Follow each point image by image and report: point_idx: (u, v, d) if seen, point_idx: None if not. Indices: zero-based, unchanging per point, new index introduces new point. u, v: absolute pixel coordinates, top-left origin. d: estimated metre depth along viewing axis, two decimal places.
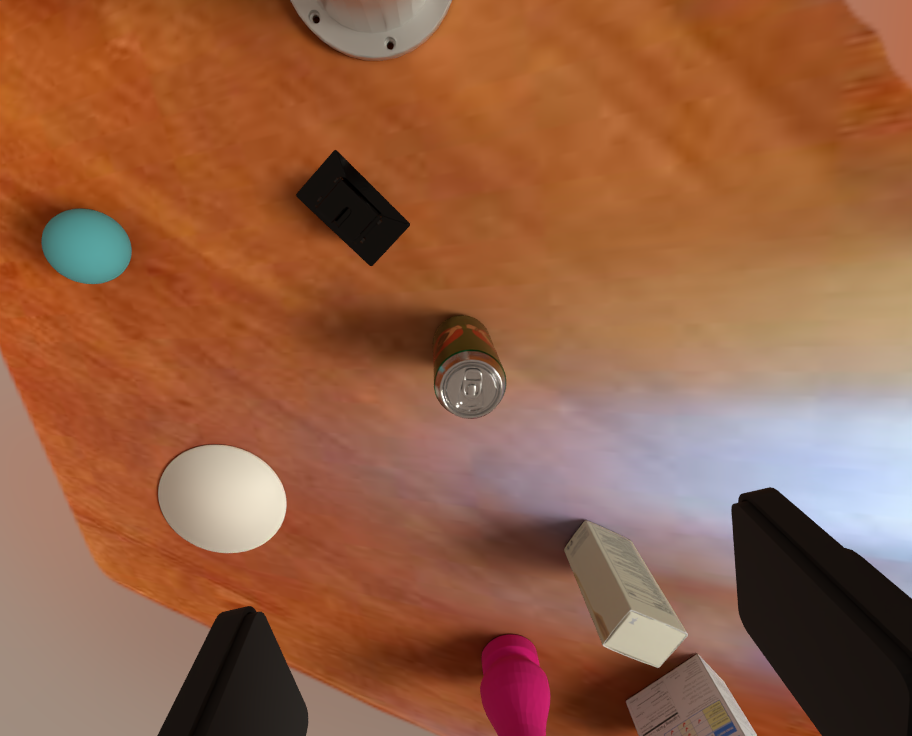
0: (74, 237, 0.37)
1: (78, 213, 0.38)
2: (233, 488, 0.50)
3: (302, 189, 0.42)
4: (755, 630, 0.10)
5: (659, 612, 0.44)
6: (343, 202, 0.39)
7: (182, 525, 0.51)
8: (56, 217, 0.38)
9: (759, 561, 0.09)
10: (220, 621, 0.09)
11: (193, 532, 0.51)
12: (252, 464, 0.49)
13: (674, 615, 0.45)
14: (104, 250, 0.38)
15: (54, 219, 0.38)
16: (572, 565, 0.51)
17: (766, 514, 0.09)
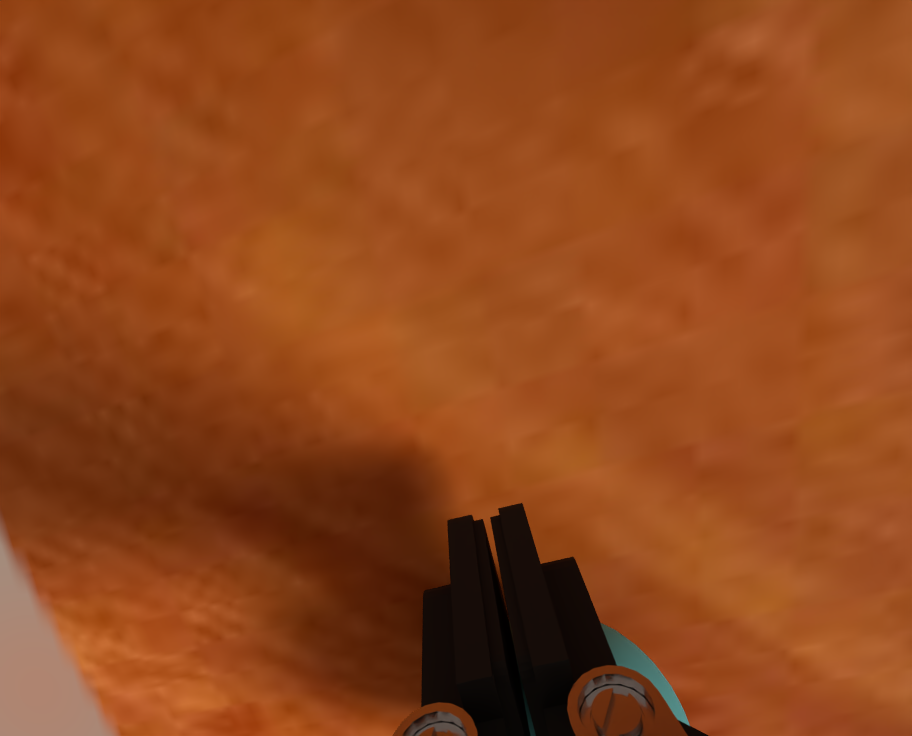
0: None
1: None
2: None
3: None
4: None
5: None
6: None
7: None
8: None
9: None
10: (453, 525, 0.10)
11: None
12: None
13: None
14: None
15: None
16: None
17: (503, 527, 0.10)
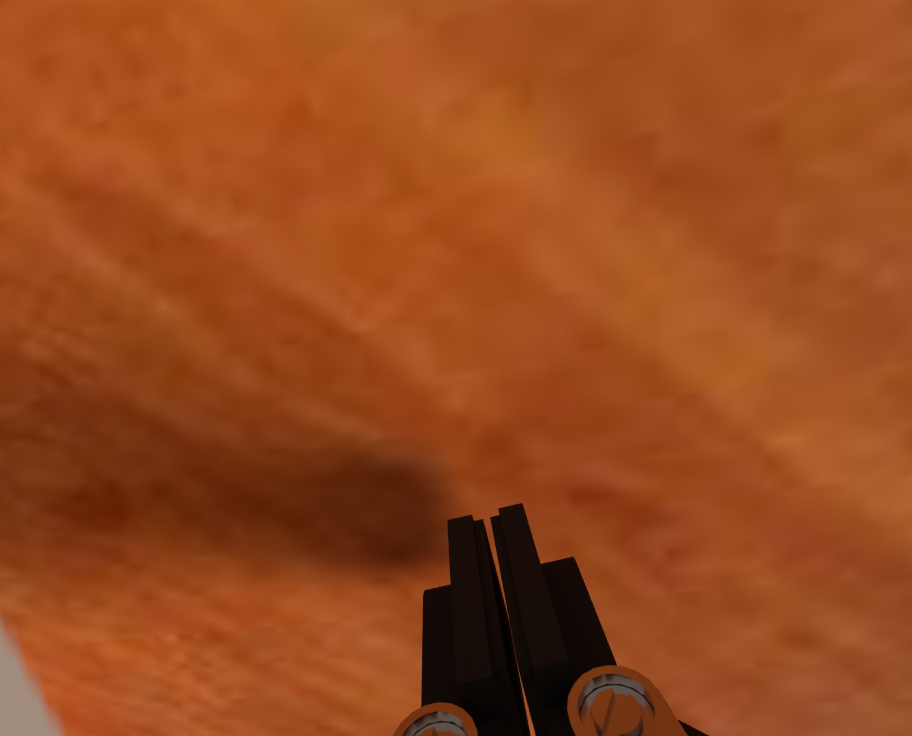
0: None
1: None
2: None
3: None
4: None
5: None
6: None
7: None
8: None
9: None
10: (453, 525, 0.10)
11: None
12: None
13: None
14: None
15: None
16: None
17: (503, 527, 0.10)
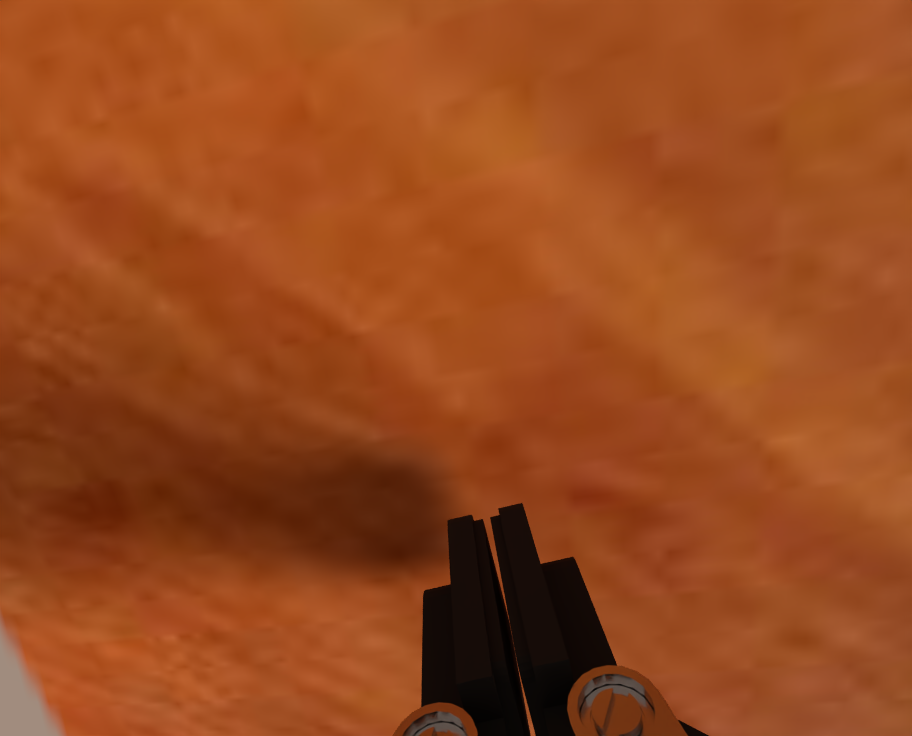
0: None
1: None
2: None
3: None
4: None
5: None
6: None
7: None
8: None
9: None
10: (453, 525, 0.10)
11: None
12: None
13: None
14: None
15: None
16: None
17: (503, 527, 0.10)
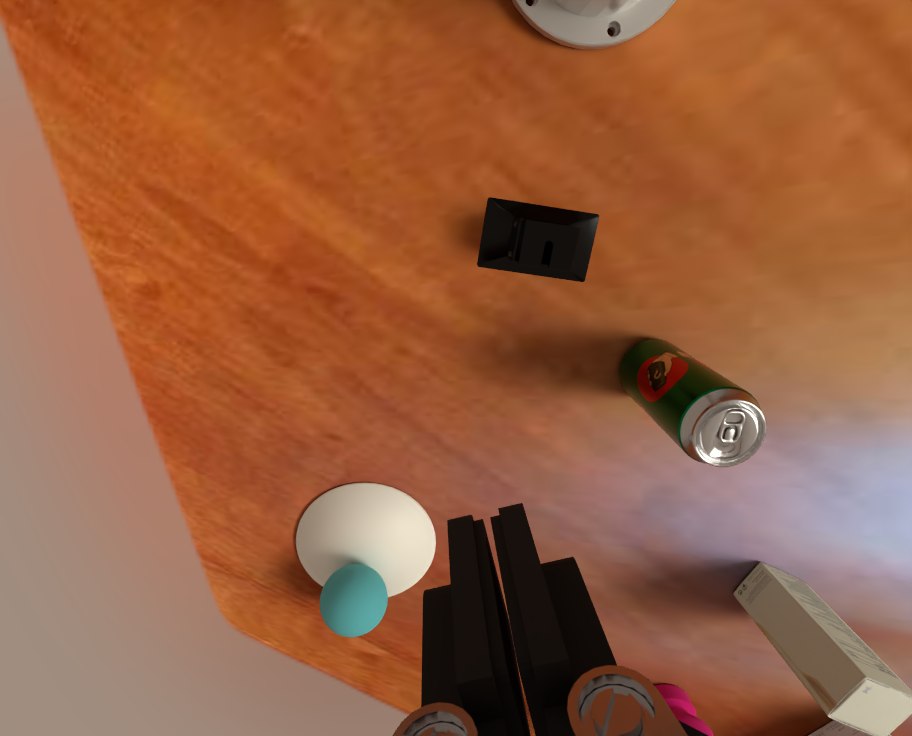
0: None
1: None
2: (379, 530, 0.45)
3: (480, 256, 0.38)
4: None
5: (886, 676, 0.38)
6: (541, 239, 0.34)
7: (319, 570, 0.46)
8: None
9: None
10: (453, 525, 0.10)
11: None
12: (403, 504, 0.44)
13: (898, 678, 0.39)
14: None
15: None
16: (752, 614, 0.46)
17: (503, 527, 0.10)
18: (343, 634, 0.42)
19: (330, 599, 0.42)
